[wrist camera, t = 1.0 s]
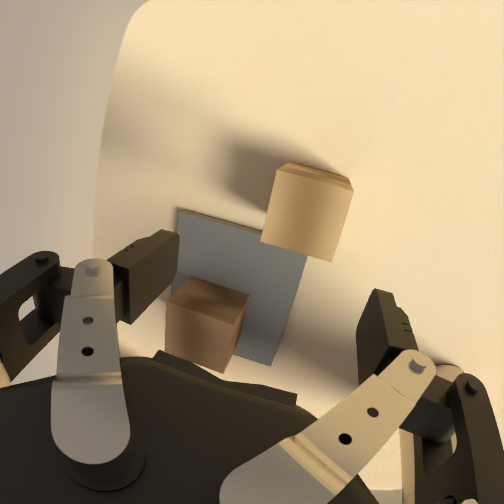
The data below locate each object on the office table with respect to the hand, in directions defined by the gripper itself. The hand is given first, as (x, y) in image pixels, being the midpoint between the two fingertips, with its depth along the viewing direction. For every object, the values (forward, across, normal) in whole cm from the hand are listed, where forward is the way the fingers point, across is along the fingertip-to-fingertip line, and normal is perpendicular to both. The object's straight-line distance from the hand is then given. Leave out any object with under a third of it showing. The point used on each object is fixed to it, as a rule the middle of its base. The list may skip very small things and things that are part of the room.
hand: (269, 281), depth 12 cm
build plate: (+15, +4, +11) cm, 19 cm away
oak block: (+15, -1, 0) cm, 15 cm away
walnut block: (+14, +5, +13) cm, 19 cm away
